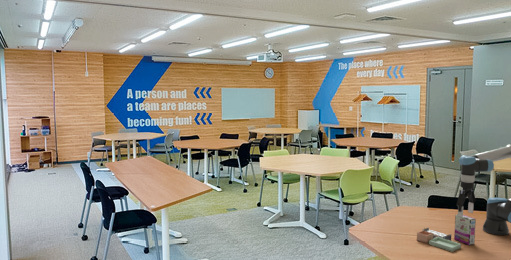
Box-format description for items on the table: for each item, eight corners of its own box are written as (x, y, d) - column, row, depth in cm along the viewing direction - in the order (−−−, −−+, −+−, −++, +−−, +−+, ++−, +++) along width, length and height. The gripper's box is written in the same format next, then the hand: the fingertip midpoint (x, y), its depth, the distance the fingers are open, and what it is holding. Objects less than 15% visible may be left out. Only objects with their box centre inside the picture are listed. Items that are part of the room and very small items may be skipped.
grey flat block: (430, 231, 260) (430, 229, 260) (447, 236, 250) (447, 234, 250) (425, 233, 256) (425, 231, 256) (443, 238, 247) (443, 236, 247)
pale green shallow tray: (437, 240, 249) (437, 236, 249) (460, 247, 237) (460, 243, 237) (428, 244, 243) (429, 240, 242) (452, 251, 231) (452, 247, 231)
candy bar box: (474, 244, 243) (476, 218, 241) (469, 245, 241) (470, 219, 239) (459, 238, 253) (460, 213, 251) (453, 239, 251) (454, 214, 249)
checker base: (427, 233, 262) (427, 226, 261) (451, 240, 249) (451, 233, 249) (422, 235, 258) (422, 228, 257) (446, 242, 245) (446, 235, 245)
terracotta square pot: (422, 237, 254) (422, 230, 253) (433, 241, 248) (433, 233, 248) (416, 240, 249) (417, 232, 249) (427, 243, 244) (427, 235, 243)
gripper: (470, 177, 254) (468, 209, 256) (451, 182, 239) (449, 216, 241) (482, 179, 248) (480, 212, 250) (464, 185, 233) (462, 219, 235)
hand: (465, 214), depth 245 cm, fingers open, 13 cm apart
